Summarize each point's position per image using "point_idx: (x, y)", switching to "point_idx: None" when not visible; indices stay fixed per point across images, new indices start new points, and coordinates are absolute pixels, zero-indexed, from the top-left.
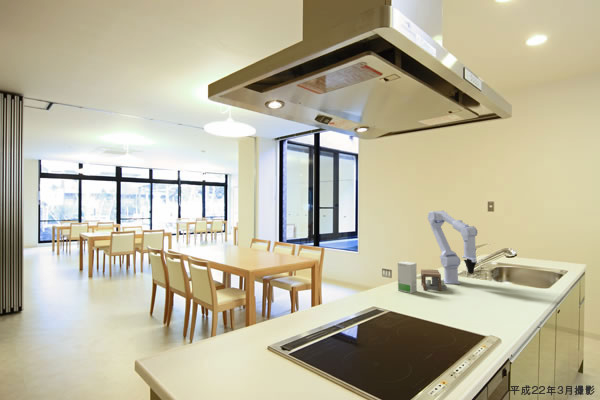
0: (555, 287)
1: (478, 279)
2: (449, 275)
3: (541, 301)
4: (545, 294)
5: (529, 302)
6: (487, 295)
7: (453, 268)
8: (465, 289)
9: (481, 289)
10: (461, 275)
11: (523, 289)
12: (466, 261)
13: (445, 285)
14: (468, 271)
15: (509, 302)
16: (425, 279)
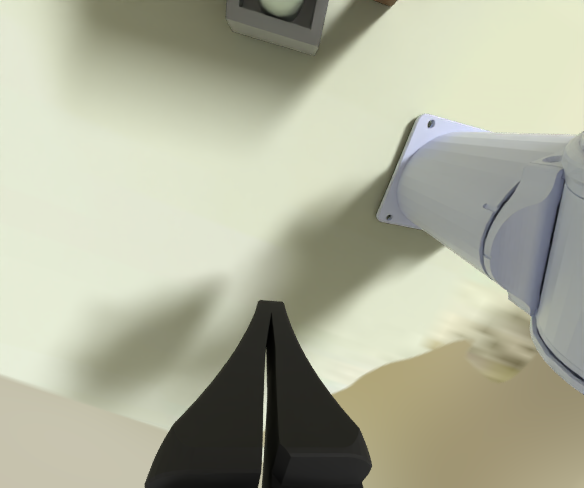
0: None
1: (436, 336)
2: (454, 162)
3: (83, 390)
4: None
5: (48, 359)
6: (118, 261)
7: (490, 229)
8: (245, 198)
9: (247, 280)
10: None
11: None
12: (164, 456)
13: (269, 26)
14: (263, 309)
15: (7, 300)
16: None
